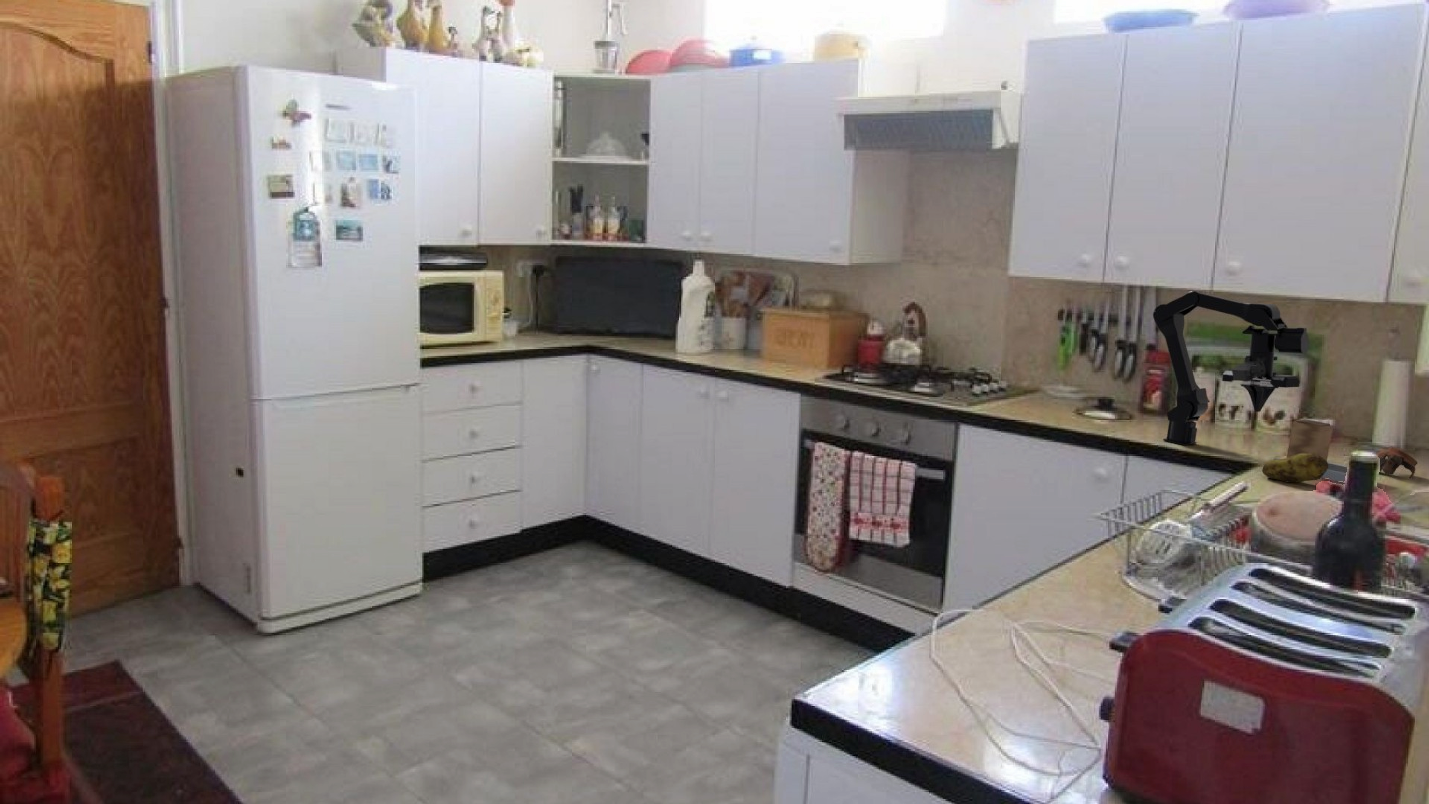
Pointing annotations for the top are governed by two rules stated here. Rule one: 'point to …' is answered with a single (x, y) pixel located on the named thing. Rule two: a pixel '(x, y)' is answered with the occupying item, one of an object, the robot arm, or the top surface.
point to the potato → (1296, 468)
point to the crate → (1310, 438)
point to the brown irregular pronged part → (1395, 460)
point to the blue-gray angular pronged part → (1334, 472)
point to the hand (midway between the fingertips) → (1257, 411)
